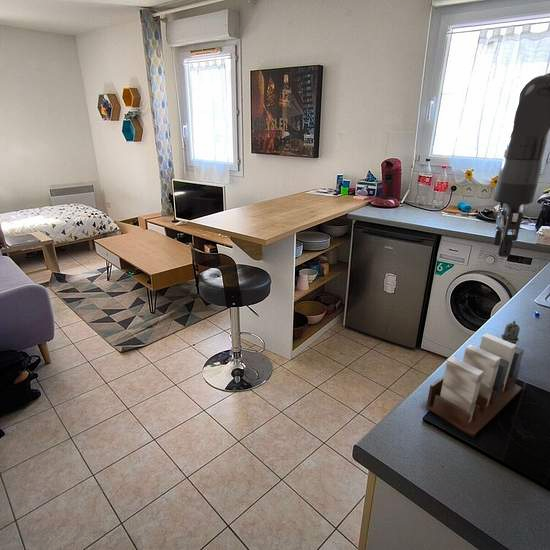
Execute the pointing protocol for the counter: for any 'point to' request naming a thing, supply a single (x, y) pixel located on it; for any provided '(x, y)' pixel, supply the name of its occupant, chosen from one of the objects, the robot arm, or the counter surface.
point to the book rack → (474, 389)
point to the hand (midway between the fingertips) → (500, 250)
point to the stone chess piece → (511, 333)
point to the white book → (499, 349)
